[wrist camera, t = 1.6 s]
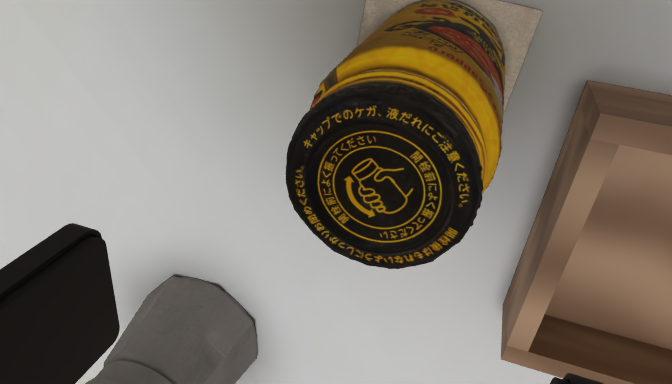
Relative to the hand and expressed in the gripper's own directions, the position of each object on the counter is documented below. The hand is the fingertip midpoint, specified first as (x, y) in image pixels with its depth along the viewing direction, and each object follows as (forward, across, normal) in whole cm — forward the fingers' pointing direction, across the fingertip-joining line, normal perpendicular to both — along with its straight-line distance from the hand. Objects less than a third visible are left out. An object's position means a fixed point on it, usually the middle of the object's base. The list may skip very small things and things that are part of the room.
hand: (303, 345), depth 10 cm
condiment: (+16, 0, -1) cm, 16 cm away
